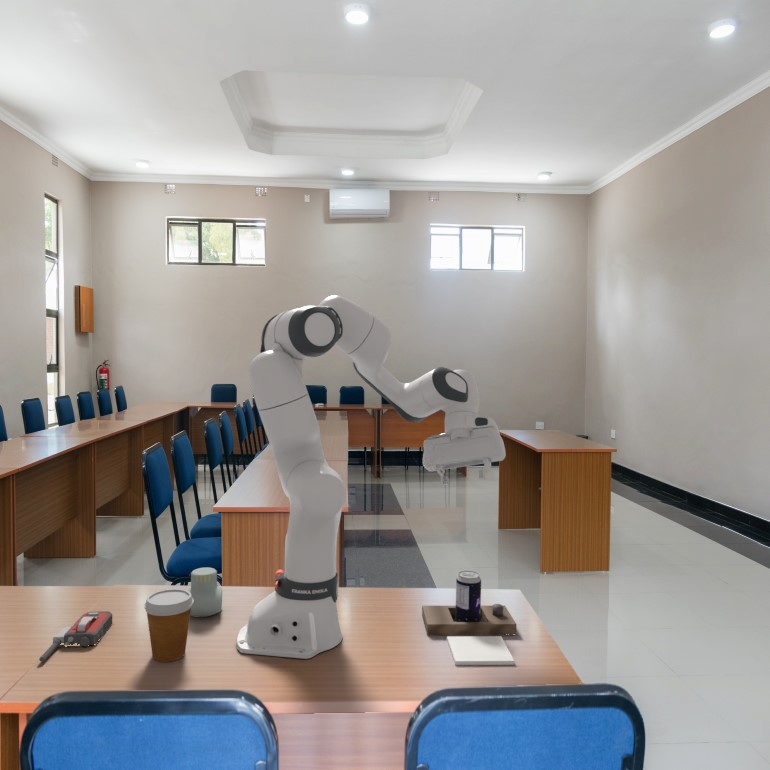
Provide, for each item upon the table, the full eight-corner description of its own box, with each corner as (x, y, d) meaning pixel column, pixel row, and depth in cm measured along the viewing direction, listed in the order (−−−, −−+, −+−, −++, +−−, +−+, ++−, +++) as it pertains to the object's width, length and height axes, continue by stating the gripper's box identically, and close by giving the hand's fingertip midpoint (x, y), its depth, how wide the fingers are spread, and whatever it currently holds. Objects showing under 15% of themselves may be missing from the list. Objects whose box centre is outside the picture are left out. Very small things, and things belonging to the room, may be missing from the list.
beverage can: (479, 631, 139) (480, 579, 138) (454, 629, 140) (455, 577, 140) (480, 621, 144) (481, 571, 144) (456, 619, 146) (457, 569, 145)
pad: (455, 665, 123) (455, 661, 123) (446, 640, 134) (446, 636, 134) (514, 664, 124) (514, 660, 124) (500, 639, 135) (501, 636, 135)
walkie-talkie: (75, 623, 140) (35, 667, 120) (75, 604, 140) (35, 645, 120) (115, 622, 141) (82, 665, 121) (115, 603, 141) (82, 643, 121)
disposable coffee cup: (189, 664, 121) (190, 604, 121) (138, 667, 120) (139, 607, 119) (196, 642, 131) (196, 587, 130) (149, 645, 129) (149, 589, 129)
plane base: (427, 635, 136) (427, 615, 136) (422, 615, 147) (422, 597, 147) (516, 635, 138) (516, 615, 137) (504, 615, 148) (505, 597, 148)
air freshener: (220, 620, 142) (221, 578, 142) (183, 623, 140) (183, 580, 140) (222, 602, 153) (222, 562, 152) (187, 604, 151) (187, 564, 150)
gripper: (418, 431, 154) (418, 482, 147) (498, 417, 146) (501, 469, 139) (428, 442, 159) (427, 492, 151) (505, 429, 151) (509, 481, 144)
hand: (463, 481), depth 145 cm, fingers open, 8 cm apart
